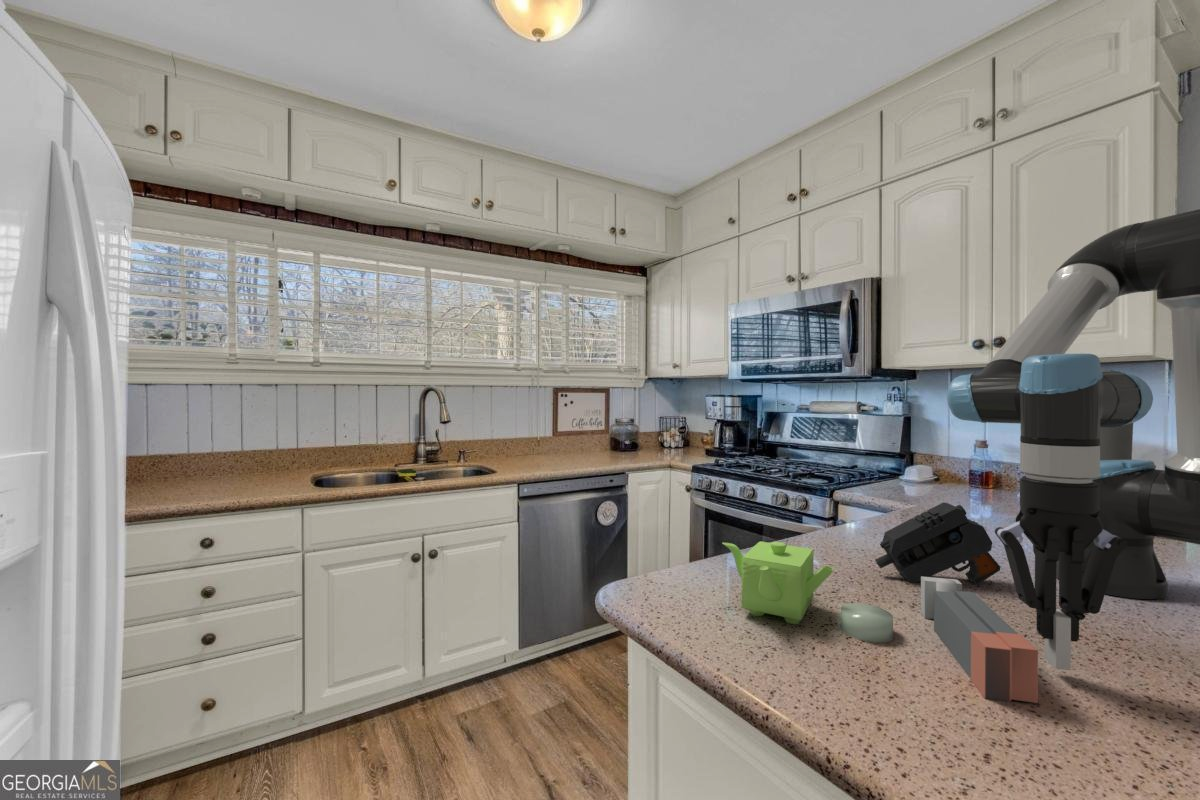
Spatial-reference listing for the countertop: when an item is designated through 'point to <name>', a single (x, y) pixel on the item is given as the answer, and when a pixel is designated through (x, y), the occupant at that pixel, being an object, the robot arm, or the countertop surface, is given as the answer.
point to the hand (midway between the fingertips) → (1057, 663)
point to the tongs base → (967, 638)
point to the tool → (939, 545)
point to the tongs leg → (1021, 649)
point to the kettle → (778, 579)
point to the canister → (1116, 442)
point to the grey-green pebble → (867, 622)
